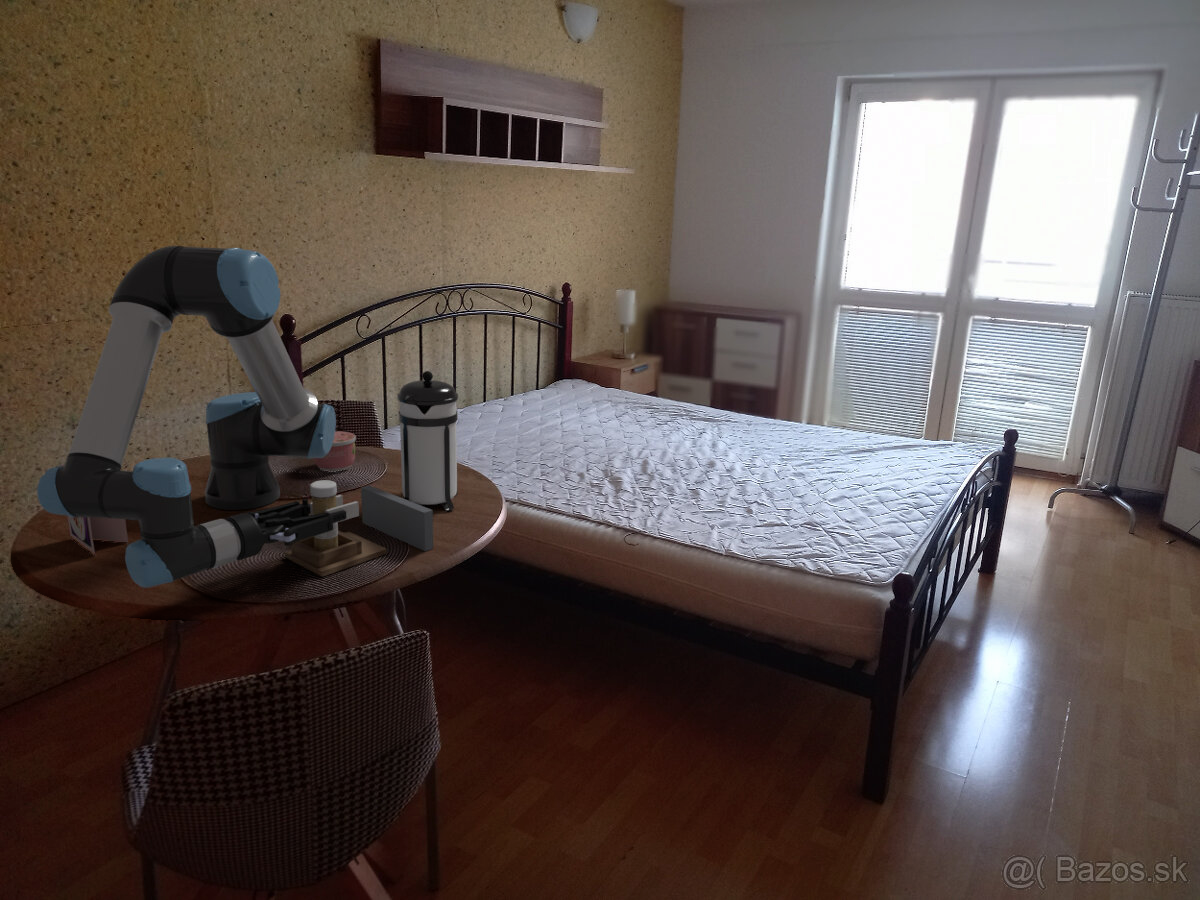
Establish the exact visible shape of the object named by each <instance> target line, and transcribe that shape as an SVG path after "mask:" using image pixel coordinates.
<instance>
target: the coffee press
mask: <svg viewBox="0 0 1200 900" xmlns="http://www.w3.org/2000/svg"><path fill="white" fill-rule="evenodd" d="M421 377H422V379H423V380H415V381H414V380H413V381H410V382H408V383H406V384H404V385H403V386H402V387H401V388H400V391H399V393H397V401H398V403H399V410H398V422H399V429H400V430H399V433H400V465H401V490H402V491H401V492H402V496H403V499H406V500H408V501H411V502H413V503H416V504H418V505H430V506H432V505H438V504H440V505H441V506H443V508H444V511H445V512H450V511H453V510H454V509H455V507H454V504H453V502H452V500H453V499H454V496H455V495H456V496H458V471H457V469H458V468H457V467H458V465H457V464H458V460H457V459H458V457H457V455H458V454H457V453H458V452H457V451H458V450H457V448H458V447H457V446H458V445H457V442H458V441H457V439H458V438H457V422H458V410H457V401H458V399H459V395H458V393H457V392H456V390H455V388H454V386H452V385H451V384H450V383H447V382H444V381H441V380H433V377H434V375H433V373H432V372H431V371H430V370H425V371H424V372H423V373H422V375H421ZM456 496H455V497H456Z"/></svg>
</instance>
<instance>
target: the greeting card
mask: <svg viewBox="0 0 1200 900" xmlns="http://www.w3.org/2000/svg"><path fill="white" fill-rule="evenodd" d="M64 465H65V464H59V467H60V466H64ZM67 521H68V527H69V534H70V537H71V536H72V537H73V538H74V539H76V540H77V541H78V542H80V543H81V544H82V545H84V546H85V547H86V548H88V549H89V550H90V551H92V552H93V553H94V554H95V555H96V552H95V544H94V541H93V538H94V539H102V540H109V541H119V542H127V543H126V544H129V539H128V532H127V530H128V529H127V524H126V519H114V518H99V517H71V516H67Z"/></svg>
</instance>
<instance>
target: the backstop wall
mask: <svg viewBox="0 0 1200 900" xmlns="http://www.w3.org/2000/svg"><path fill="white" fill-rule="evenodd" d="M360 495H361V497H360V498H361V515H362V516H361V517H362V519H361V521H362V524H363V523H364V524H366V525H365V526H367V525H368V526H367V527H369V526H370V527H369V528H371V527H373V528H375V529H374V530H376V529H377V530H376V531H378V530H379V532H380V531H382V532H381V533H383V532H384V533H383V534H385V533H386V534H385V535H387V534H388V535H387V536H389V535H390V536H389V537H392V538H394V539H396V538H397V539H396V540H398V539H399V541H401V540H402V541H401V542H403V541H404V542H403V543H405V542H406V543H405V544H407V543H408V545H411V547H415V548H416V549H418V550H421V551H424V552H427V551H430V550H433V549H434V524H433V523H434V520H433V519H434V513H433V509H431V508H428V507H425V506H423V505H422V504H417V503H413V502H411V501H408V500H406V499H404V497H400V496H398V495H395V494H393V493H390V492H387V491H385V490H382V489H380V488H377V487H375V486H372V485H370V484H369V485H365V486H362V487H360ZM364 524H363V525H364ZM373 528H372V529H373Z"/></svg>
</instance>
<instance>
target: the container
mask: <svg viewBox="0 0 1200 900" xmlns="http://www.w3.org/2000/svg"><path fill="white" fill-rule="evenodd" d="M356 438H357V435H355V434H354V433H352V432H347V431H340V430H339V431H338V430H337V431H336V430H335V435H334V440H333V444H332V447H331V449H330V451H329V453H328V454H327V455H326V456H325V457H323V458H313V461H314V463H315V466H316V467H318V469H319V468H320V469H322V470H329V471H336V470H337V471H338V470H344V469H348V468H349V467H351V468H352V465H353V464H354V462H355V459H356V443H355V442H356V440H357V439H356Z"/></svg>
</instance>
